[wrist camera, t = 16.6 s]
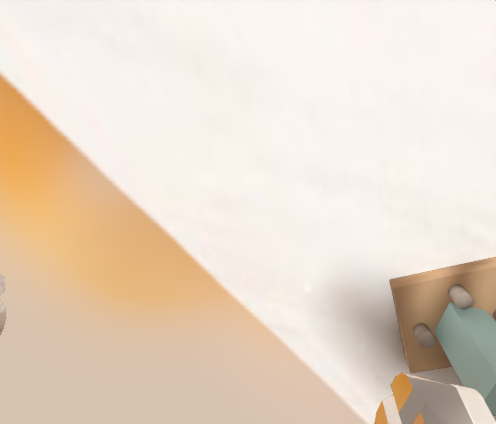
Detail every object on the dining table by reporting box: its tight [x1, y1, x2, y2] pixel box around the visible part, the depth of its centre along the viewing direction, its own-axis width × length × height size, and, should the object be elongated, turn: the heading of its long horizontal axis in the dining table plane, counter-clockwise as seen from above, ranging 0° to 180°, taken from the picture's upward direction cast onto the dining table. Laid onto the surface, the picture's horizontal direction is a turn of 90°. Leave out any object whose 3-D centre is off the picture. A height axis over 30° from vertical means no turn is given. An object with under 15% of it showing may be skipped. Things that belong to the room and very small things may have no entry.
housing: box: [390, 257, 496, 373], centre depth 42 cm, size 12×12×4 cm
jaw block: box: [434, 303, 496, 416], centre depth 37 cm, size 4×4×10 cm
